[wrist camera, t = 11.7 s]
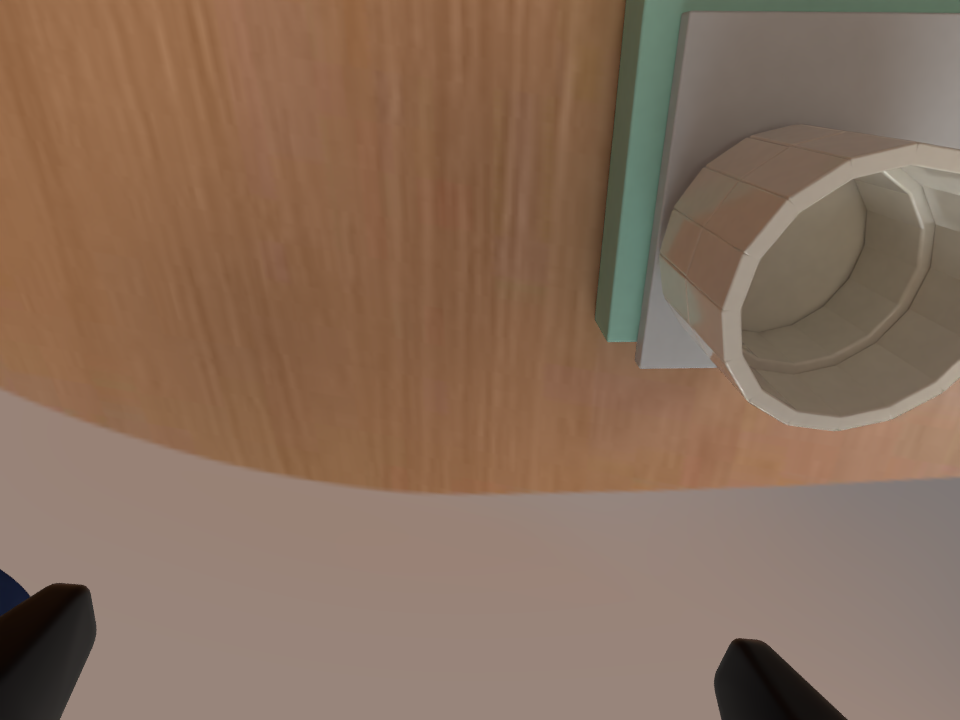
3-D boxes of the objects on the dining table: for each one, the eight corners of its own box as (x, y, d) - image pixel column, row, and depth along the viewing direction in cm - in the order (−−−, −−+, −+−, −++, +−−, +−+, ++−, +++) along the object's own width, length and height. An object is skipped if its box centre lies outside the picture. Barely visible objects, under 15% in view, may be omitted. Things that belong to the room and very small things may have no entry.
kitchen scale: (913, 333, 20) (968, 365, 18) (592, 336, 20) (609, 370, 17) (1065, -88, 15) (1169, -115, 13) (634, -95, 14) (666, -124, 12)
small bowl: (821, 355, 17) (934, 444, 13) (627, 329, 17) (683, 413, 13) (918, 146, 15) (1097, 174, 11) (695, 104, 14) (792, 118, 10)
